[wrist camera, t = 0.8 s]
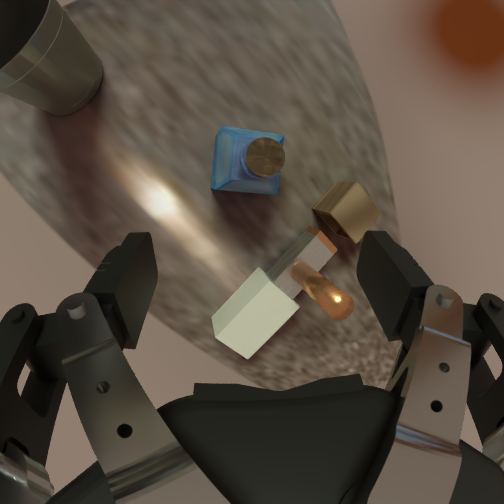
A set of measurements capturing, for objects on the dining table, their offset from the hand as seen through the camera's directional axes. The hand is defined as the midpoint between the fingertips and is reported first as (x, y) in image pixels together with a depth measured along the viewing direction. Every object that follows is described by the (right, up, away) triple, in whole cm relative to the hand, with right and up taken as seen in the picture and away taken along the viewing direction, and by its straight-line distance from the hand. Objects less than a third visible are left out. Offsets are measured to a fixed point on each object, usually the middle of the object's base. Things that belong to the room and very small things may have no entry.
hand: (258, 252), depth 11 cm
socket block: (+11, +6, +26) cm, 29 cm away
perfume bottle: (-2, +10, +22) cm, 25 cm away
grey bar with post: (+3, -4, +26) cm, 26 cm away
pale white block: (-1, -7, +27) cm, 28 cm away
